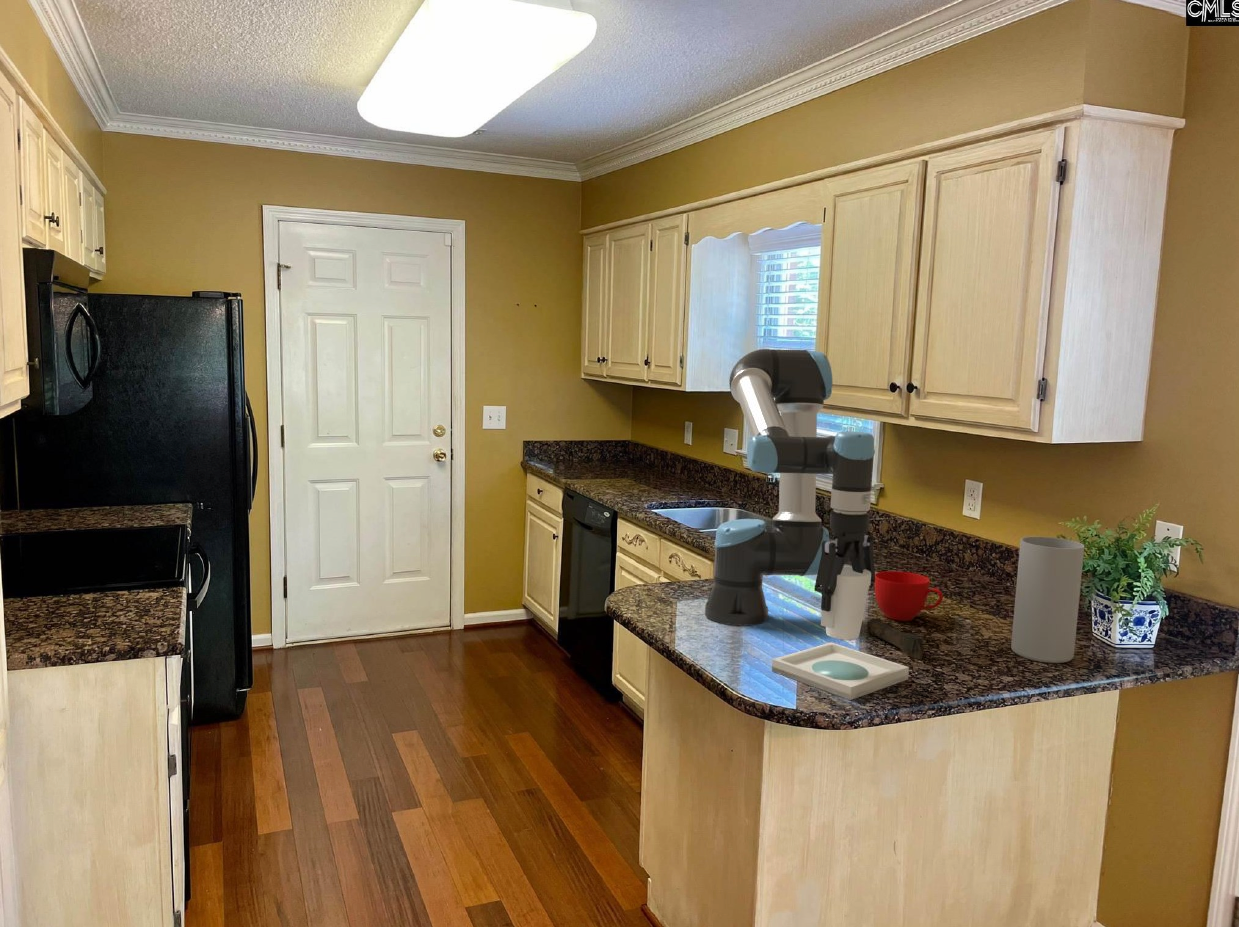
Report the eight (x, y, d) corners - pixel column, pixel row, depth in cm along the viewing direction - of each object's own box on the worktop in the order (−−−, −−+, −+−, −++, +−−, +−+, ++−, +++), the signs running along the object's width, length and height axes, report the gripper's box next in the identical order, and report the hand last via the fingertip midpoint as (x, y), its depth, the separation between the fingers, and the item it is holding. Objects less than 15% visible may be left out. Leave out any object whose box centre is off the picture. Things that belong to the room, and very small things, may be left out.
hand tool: (865, 634, 215) (866, 615, 215) (880, 634, 216) (882, 614, 216) (910, 662, 197) (911, 641, 197) (926, 661, 198) (928, 640, 198)
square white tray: (771, 671, 188) (772, 659, 188) (830, 653, 200) (830, 642, 200) (850, 700, 174) (851, 687, 174) (908, 679, 186) (908, 667, 186)
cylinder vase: (1012, 659, 201) (1022, 544, 198) (1009, 642, 212) (1019, 534, 209) (1076, 667, 197) (1087, 551, 193) (1070, 650, 208) (1080, 540, 205)
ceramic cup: (928, 632, 218) (931, 590, 217) (862, 616, 230) (865, 576, 228) (951, 621, 228) (954, 581, 227) (887, 606, 239) (889, 568, 238)
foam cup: (875, 640, 183) (880, 575, 181) (833, 643, 180) (837, 577, 179) (850, 626, 192) (854, 564, 190) (810, 628, 189) (813, 566, 188)
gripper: (831, 519, 173) (824, 636, 176) (898, 509, 187) (891, 618, 190) (799, 513, 179) (792, 627, 181) (867, 503, 193) (860, 609, 196)
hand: (843, 622), depth 186 cm, fingers closed on foam cup, 9 cm apart
